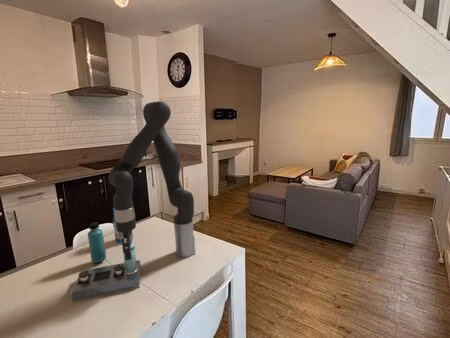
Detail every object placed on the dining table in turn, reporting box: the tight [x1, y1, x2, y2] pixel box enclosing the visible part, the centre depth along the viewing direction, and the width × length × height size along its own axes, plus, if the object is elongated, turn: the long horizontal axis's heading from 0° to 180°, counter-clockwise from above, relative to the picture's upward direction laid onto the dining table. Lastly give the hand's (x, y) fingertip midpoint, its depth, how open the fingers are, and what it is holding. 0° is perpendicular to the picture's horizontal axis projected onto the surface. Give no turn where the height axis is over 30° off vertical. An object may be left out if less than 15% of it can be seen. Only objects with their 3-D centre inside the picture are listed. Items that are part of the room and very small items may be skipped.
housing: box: [70, 259, 142, 302], centre depth 100 cm, size 24×14×4 cm, turn 107°
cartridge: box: [121, 241, 137, 273], centre depth 101 cm, size 5×5×12 cm
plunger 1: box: [78, 270, 89, 284], centre depth 97 cm, size 4×4×5 cm
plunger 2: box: [114, 263, 123, 277], centre depth 100 cm, size 4×4×5 cm
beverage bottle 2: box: [112, 207, 122, 245], centre depth 134 cm, size 8×8×20 cm
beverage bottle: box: [87, 222, 107, 264], centre depth 114 cm, size 6×7×20 cm
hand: (129, 254), depth 100 cm, fingers open, 8 cm apart
